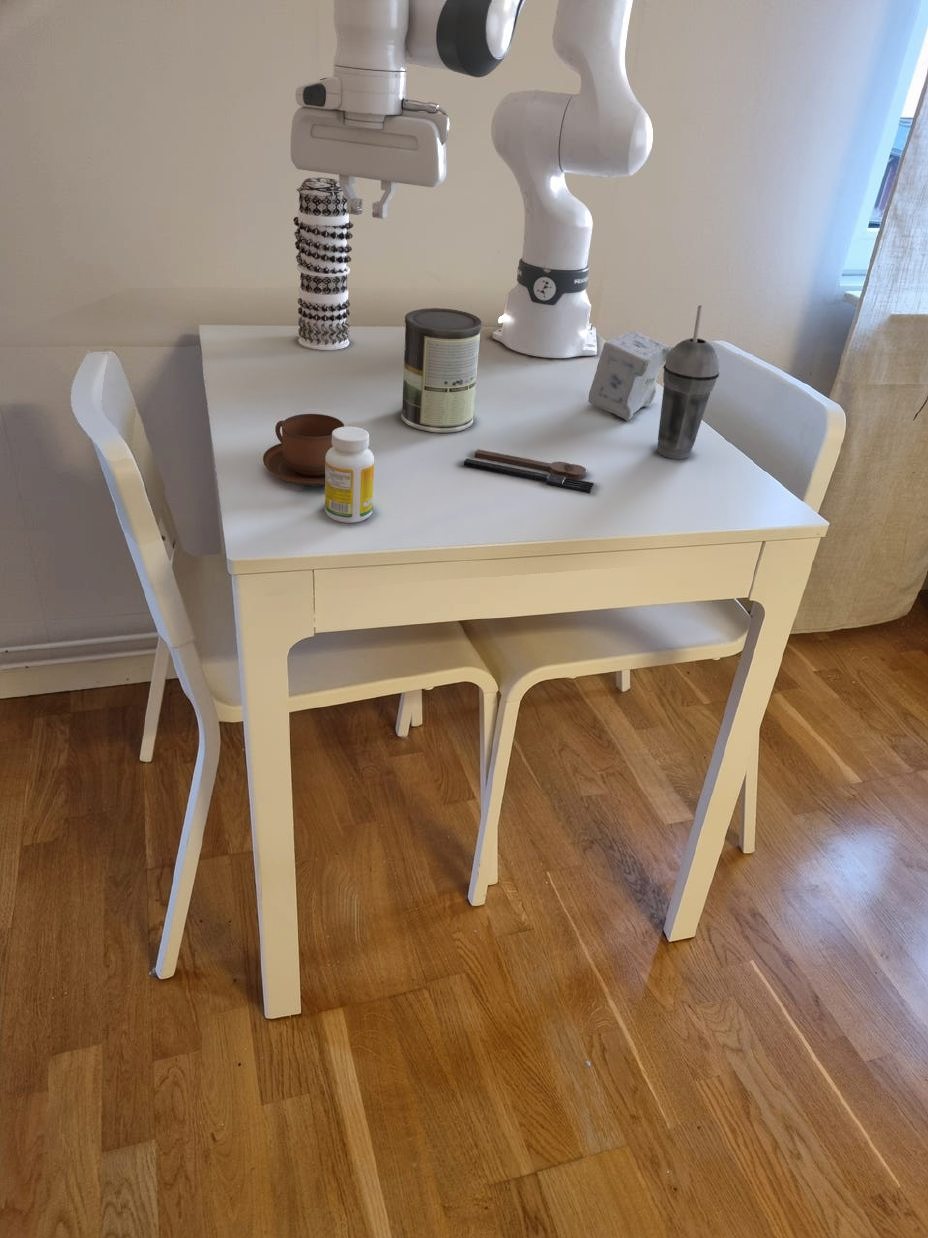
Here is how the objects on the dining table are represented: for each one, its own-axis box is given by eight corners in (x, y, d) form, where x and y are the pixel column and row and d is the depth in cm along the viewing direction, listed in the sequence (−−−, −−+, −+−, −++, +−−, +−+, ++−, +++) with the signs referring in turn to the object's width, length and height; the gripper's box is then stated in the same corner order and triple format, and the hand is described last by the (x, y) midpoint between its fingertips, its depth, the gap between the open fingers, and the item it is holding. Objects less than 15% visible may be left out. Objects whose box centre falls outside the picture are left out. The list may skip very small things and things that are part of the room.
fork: (467, 460, 120) (467, 456, 120) (593, 485, 117) (594, 481, 117) (461, 467, 118) (462, 463, 118) (589, 493, 115) (590, 488, 115)
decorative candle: (339, 354, 152) (340, 187, 138) (287, 345, 154) (282, 180, 140) (359, 339, 160) (362, 180, 146) (309, 330, 161) (307, 172, 148)
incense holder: (634, 424, 136) (647, 353, 130) (584, 409, 140) (595, 340, 134) (662, 407, 143) (676, 339, 137) (614, 393, 147) (625, 326, 141)
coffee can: (387, 421, 129) (390, 318, 122) (423, 400, 137) (429, 303, 130) (452, 439, 126) (459, 335, 118) (485, 417, 134) (495, 317, 126)
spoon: (479, 450, 123) (479, 445, 123) (588, 471, 120) (588, 466, 120) (472, 459, 121) (473, 454, 120) (583, 481, 118) (584, 476, 118)
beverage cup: (710, 455, 128) (745, 307, 118) (681, 467, 124) (714, 315, 113) (666, 437, 132) (696, 293, 122) (636, 449, 128) (664, 301, 117)
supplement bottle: (332, 526, 103) (332, 444, 97) (319, 505, 107) (319, 425, 101) (379, 521, 105) (381, 440, 99) (364, 500, 109) (366, 422, 103)
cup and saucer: (246, 483, 110) (243, 433, 107) (288, 446, 120) (287, 400, 116) (341, 502, 108) (341, 452, 104) (376, 463, 118) (378, 416, 114)
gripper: (457, 102, 115) (450, 222, 122) (305, 85, 119) (306, 201, 127) (442, 105, 110) (434, 230, 117) (283, 87, 114) (286, 208, 121)
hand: (367, 215), depth 122 cm, fingers closed
